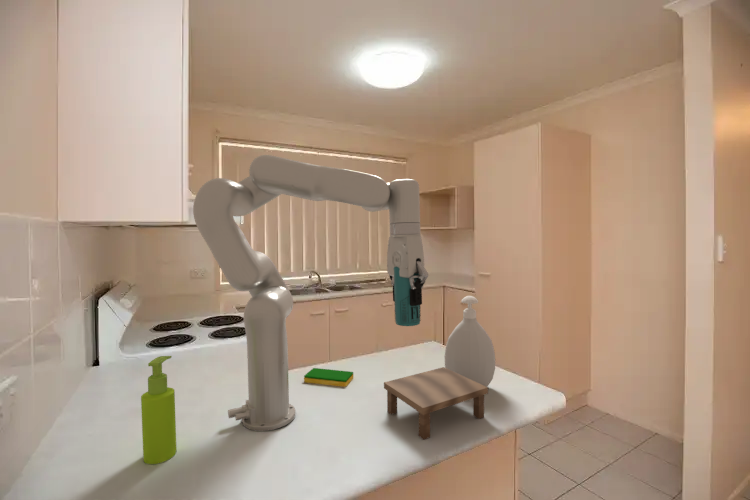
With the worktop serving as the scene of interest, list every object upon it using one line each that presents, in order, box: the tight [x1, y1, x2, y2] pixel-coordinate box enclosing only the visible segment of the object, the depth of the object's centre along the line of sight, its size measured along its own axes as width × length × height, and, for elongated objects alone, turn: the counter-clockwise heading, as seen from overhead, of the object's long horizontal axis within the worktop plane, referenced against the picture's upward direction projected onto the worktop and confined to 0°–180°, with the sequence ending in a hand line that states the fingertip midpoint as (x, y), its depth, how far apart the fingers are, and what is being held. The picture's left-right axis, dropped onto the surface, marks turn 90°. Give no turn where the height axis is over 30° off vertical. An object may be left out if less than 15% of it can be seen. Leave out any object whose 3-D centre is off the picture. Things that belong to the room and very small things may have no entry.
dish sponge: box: [303, 367, 354, 388], centre depth 113 cm, size 7×14×2 cm, turn 74°
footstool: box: [383, 366, 489, 440], centre depth 90 cm, size 20×16×8 cm
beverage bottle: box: [393, 267, 422, 327], centre depth 89 cm, size 6×7×20 cm
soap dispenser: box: [140, 355, 177, 465], centre depth 75 cm, size 6×7×20 cm
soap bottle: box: [444, 295, 496, 387], centre depth 107 cm, size 14×8×27 cm, turn 77°
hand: (407, 302), depth 90 cm, fingers closed on beverage bottle, 6 cm apart
